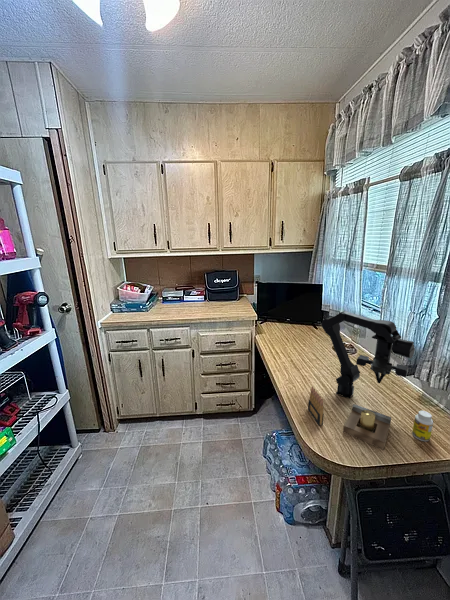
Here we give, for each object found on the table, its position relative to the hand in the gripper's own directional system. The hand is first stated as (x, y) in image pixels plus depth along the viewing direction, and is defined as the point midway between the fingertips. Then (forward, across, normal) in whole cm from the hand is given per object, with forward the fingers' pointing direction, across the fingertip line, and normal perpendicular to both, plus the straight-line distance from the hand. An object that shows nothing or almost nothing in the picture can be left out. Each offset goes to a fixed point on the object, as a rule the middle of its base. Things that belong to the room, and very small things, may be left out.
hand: (378, 382), depth 114 cm
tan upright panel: (+13, -19, -23) cm, 32 cm away
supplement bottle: (+13, +17, -9) cm, 23 cm away
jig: (+12, 0, -19) cm, 23 cm away
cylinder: (+12, 0, -19) cm, 23 cm away
